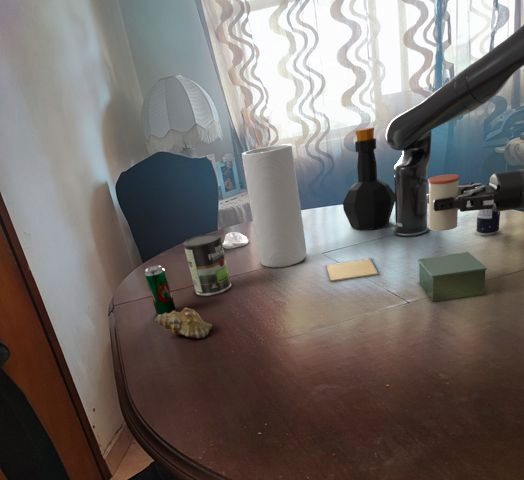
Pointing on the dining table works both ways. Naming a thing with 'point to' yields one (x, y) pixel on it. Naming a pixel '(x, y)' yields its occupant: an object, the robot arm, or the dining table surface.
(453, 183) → the canister
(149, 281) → the soda can
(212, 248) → the coffee can
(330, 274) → the mat
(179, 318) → the seashell
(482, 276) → the tin
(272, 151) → the vase
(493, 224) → the beverage can
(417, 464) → the dining table surface
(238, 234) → the white lumpy mound
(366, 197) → the bottle
